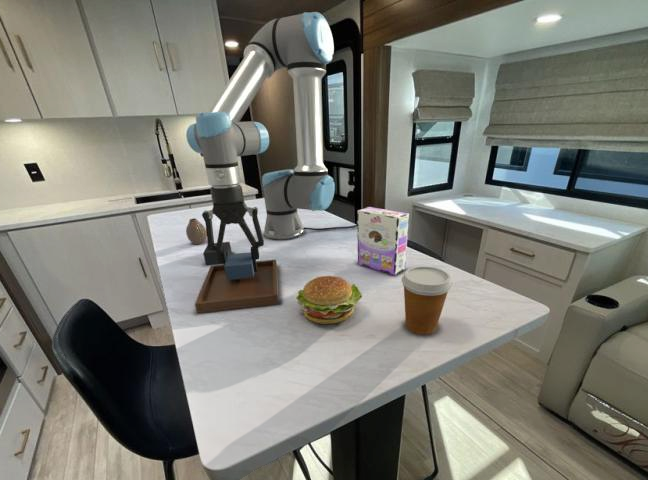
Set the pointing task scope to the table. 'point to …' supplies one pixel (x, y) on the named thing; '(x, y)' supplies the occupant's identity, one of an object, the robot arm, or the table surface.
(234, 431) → the table surface
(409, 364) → the table surface
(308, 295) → the food
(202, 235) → the vase
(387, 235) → the candy box
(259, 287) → the brown wooden tray
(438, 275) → the disposable coffee cup
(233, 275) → the pad
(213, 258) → the pad
